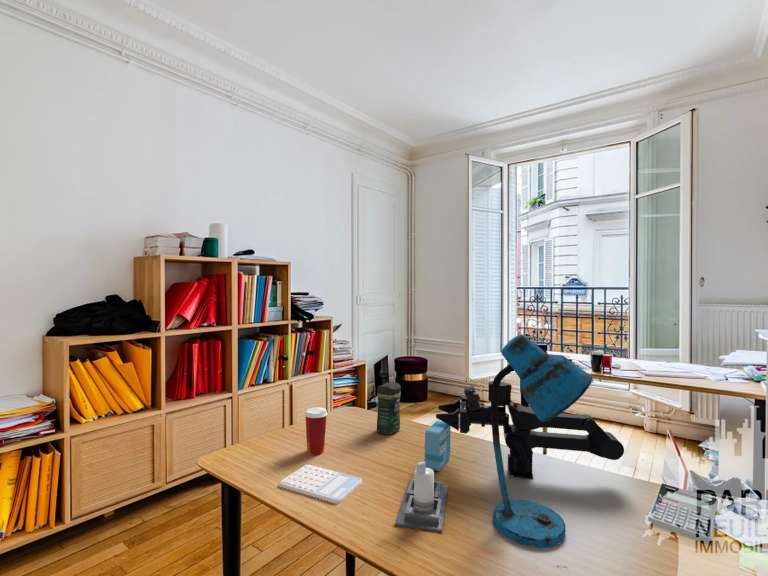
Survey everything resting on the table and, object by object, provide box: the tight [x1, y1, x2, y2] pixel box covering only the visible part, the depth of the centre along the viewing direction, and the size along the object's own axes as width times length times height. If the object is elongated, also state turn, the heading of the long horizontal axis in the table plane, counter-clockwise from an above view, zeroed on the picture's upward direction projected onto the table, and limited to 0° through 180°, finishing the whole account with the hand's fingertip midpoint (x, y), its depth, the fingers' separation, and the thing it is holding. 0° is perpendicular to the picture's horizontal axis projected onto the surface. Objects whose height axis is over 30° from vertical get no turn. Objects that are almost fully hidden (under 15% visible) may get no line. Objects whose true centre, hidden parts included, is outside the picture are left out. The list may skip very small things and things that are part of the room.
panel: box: [394, 477, 449, 533], centre depth 101 cm, size 11×21×2 cm, turn 167°
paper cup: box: [304, 406, 328, 456], centre depth 133 cm, size 8×8×14 cm
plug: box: [413, 460, 435, 515], centre depth 96 cm, size 5×5×12 cm
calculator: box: [278, 464, 363, 505], centre depth 111 cm, size 13×20×2 cm, turn 64°
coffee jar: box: [376, 381, 402, 435], centre depth 153 cm, size 10×8×19 cm
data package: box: [424, 420, 451, 472], centre depth 125 cm, size 12×4×12 cm, turn 153°
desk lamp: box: [490, 333, 594, 548], centre depth 92 cm, size 16×22×45 cm
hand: (437, 411), depth 125 cm, fingers open, 9 cm apart
